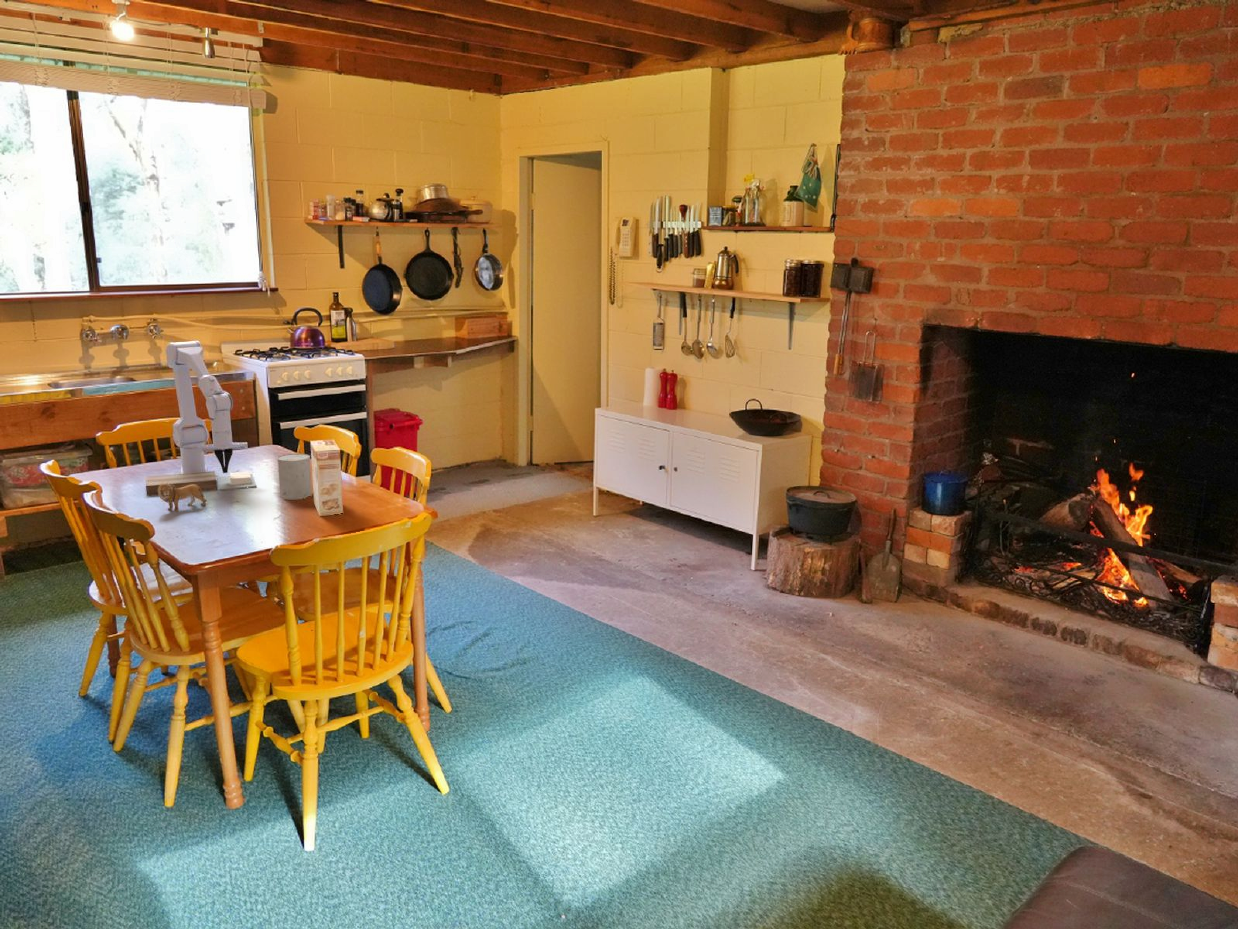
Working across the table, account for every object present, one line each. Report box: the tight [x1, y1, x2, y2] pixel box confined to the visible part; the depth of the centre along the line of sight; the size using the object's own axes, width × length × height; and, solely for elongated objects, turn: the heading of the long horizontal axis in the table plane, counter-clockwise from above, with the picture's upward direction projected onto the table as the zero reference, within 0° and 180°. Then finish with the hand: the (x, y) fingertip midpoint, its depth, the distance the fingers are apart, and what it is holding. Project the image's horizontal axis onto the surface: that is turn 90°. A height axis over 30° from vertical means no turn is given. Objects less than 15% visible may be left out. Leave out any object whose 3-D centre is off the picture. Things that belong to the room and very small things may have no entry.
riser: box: [145, 470, 218, 496], centre depth 296 cm, size 12×20×3 cm, turn 115°
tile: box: [228, 471, 251, 485], centre depth 303 cm, size 8×6×2 cm
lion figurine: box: [157, 483, 207, 512], centre depth 274 cm, size 15×5×9 cm, turn 148°
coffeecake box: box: [310, 439, 344, 517], centre depth 275 cm, size 15×7×20 cm, turn 23°
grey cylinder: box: [277, 453, 313, 501], centre depth 289 cm, size 10×10×12 cm
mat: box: [216, 473, 257, 491], centre depth 303 cm, size 16×11×1 cm
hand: (225, 472), depth 301 cm, fingers closed
